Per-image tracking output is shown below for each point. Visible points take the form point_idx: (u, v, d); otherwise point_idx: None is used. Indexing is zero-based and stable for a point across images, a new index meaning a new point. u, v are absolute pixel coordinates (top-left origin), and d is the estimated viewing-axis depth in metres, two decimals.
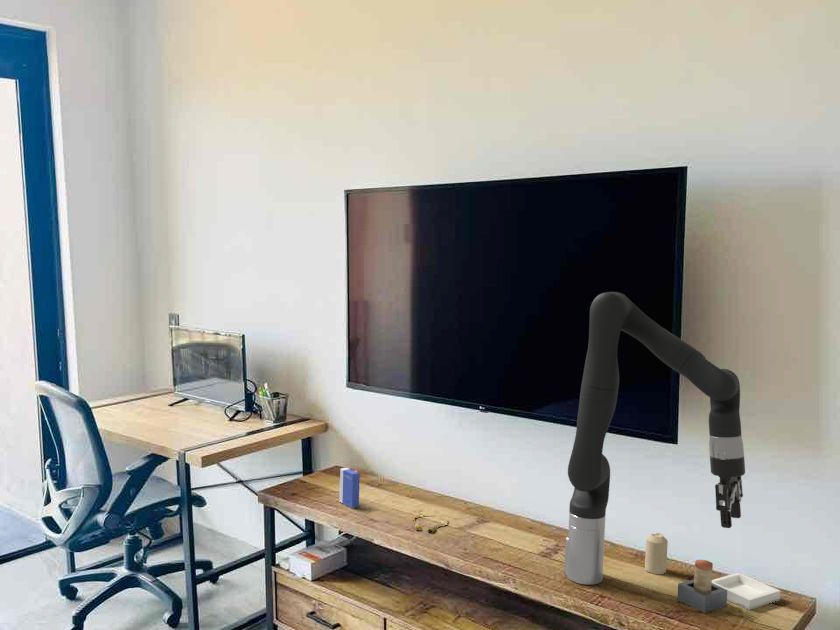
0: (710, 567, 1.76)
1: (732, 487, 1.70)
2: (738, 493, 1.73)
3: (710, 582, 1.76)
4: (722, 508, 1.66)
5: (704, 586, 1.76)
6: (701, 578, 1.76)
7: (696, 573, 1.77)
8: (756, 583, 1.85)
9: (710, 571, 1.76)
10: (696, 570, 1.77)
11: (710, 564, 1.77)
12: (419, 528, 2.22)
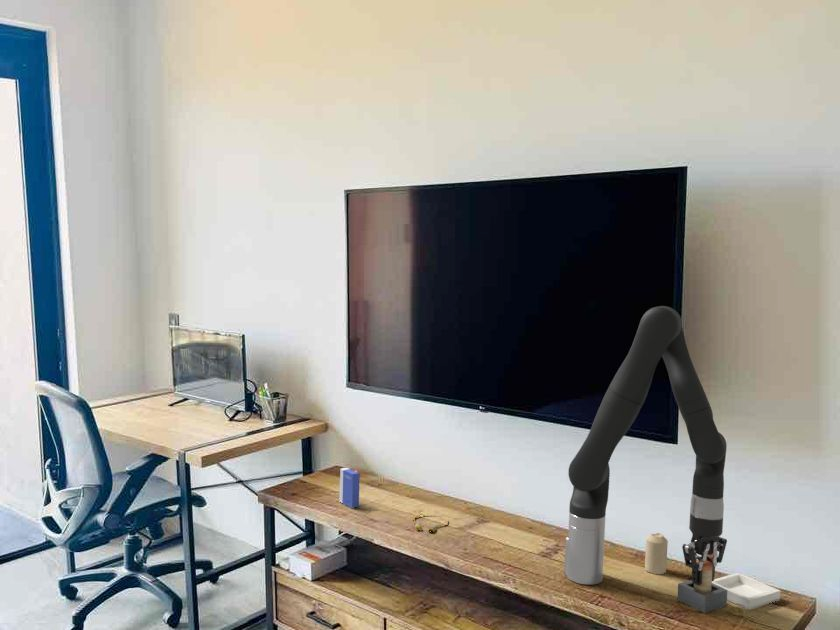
0: (710, 567, 1.76)
1: (704, 547, 1.75)
2: (713, 554, 1.77)
3: (710, 582, 1.76)
4: (690, 566, 1.75)
5: (704, 586, 1.76)
6: None
7: None
8: (756, 583, 1.85)
9: (710, 571, 1.76)
10: None
11: (710, 564, 1.77)
12: (419, 528, 2.21)
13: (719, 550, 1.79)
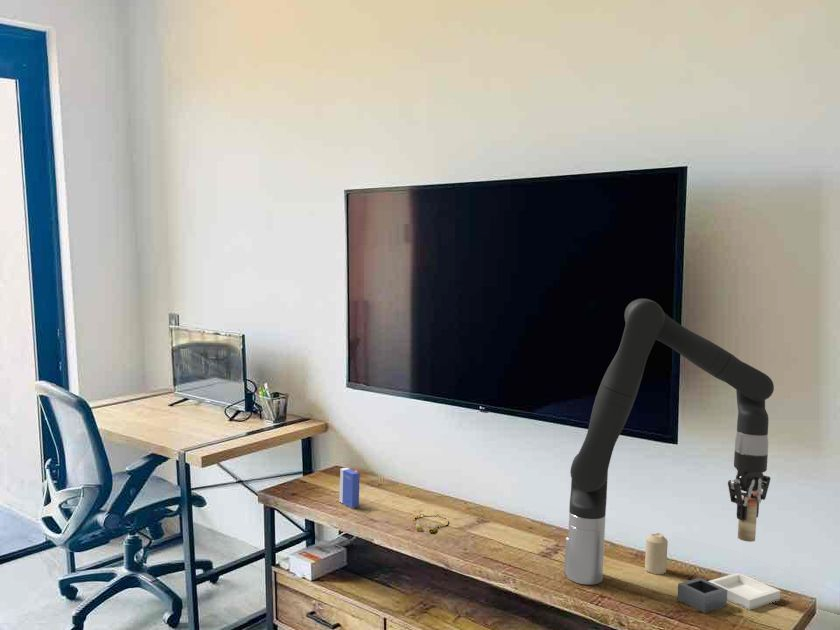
0: (755, 503, 1.80)
1: (749, 483, 1.79)
2: (757, 491, 1.81)
3: (755, 518, 1.80)
4: (735, 501, 1.79)
5: (749, 521, 1.80)
6: None
7: None
8: (756, 583, 1.85)
9: (755, 507, 1.80)
10: None
11: (755, 500, 1.81)
12: (420, 528, 2.21)
13: (763, 487, 1.83)
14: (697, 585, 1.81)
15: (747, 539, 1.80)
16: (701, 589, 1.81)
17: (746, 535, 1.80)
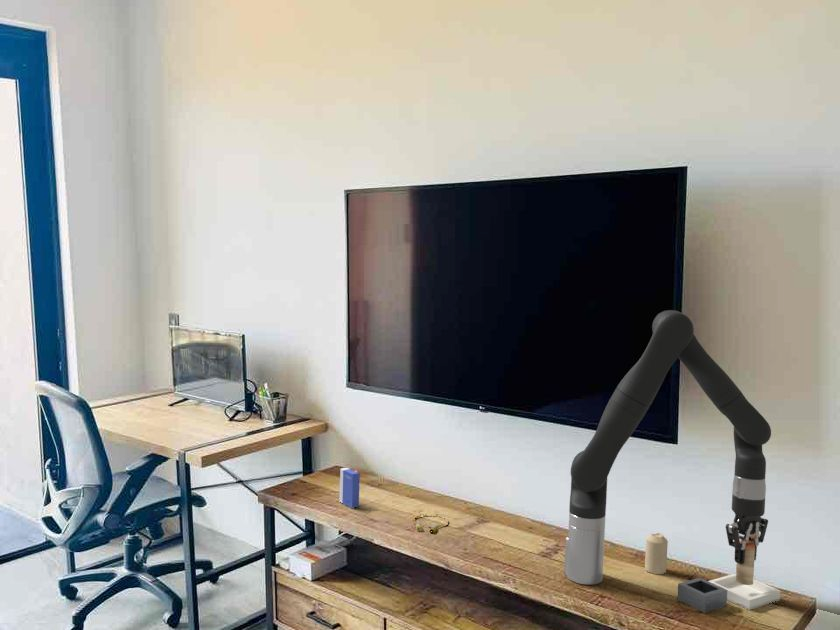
0: (753, 546, 1.80)
1: (746, 526, 1.80)
2: (755, 534, 1.81)
3: (753, 561, 1.81)
4: (733, 545, 1.79)
5: (747, 565, 1.80)
6: None
7: None
8: (756, 583, 1.85)
9: (753, 550, 1.80)
10: None
11: (753, 544, 1.81)
12: (420, 528, 2.21)
13: (760, 530, 1.84)
14: (697, 585, 1.81)
15: (745, 582, 1.81)
16: (701, 589, 1.81)
17: (744, 579, 1.81)
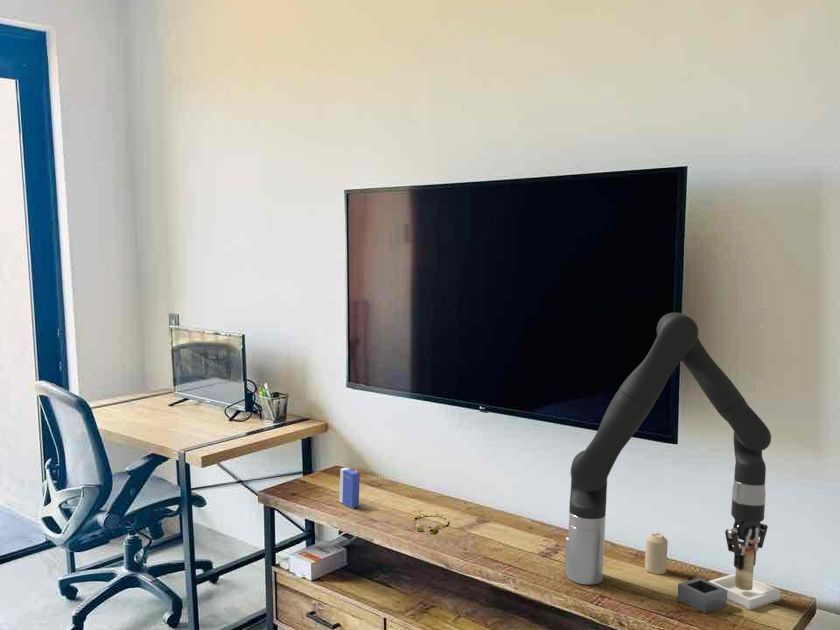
0: (752, 552, 1.80)
1: (746, 532, 1.80)
2: (754, 539, 1.82)
3: (752, 567, 1.81)
4: (733, 551, 1.80)
5: (746, 570, 1.80)
6: None
7: None
8: (756, 583, 1.85)
9: (752, 556, 1.81)
10: None
11: (752, 549, 1.81)
12: (421, 528, 2.21)
13: (760, 536, 1.84)
14: (697, 585, 1.81)
15: (744, 588, 1.81)
16: (701, 589, 1.81)
17: (743, 584, 1.81)
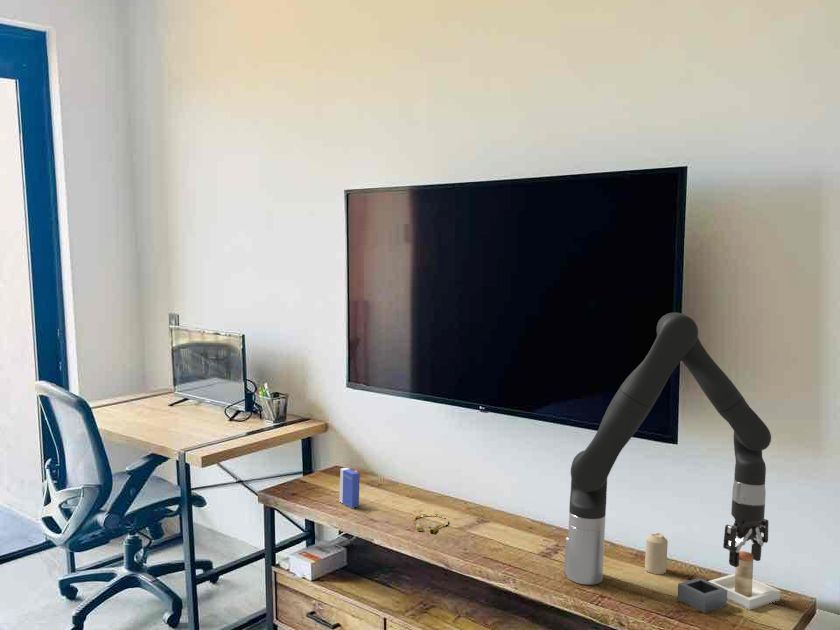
0: (751, 558, 1.80)
1: (746, 531, 1.80)
2: (757, 538, 1.82)
3: (751, 573, 1.81)
4: (728, 547, 1.78)
5: (745, 577, 1.81)
6: (742, 569, 1.81)
7: None
8: (756, 583, 1.85)
9: (751, 562, 1.81)
10: None
11: (751, 555, 1.81)
12: (421, 528, 2.21)
13: (763, 531, 1.84)
14: (697, 585, 1.81)
15: (744, 594, 1.81)
16: (701, 589, 1.81)
17: (742, 590, 1.81)
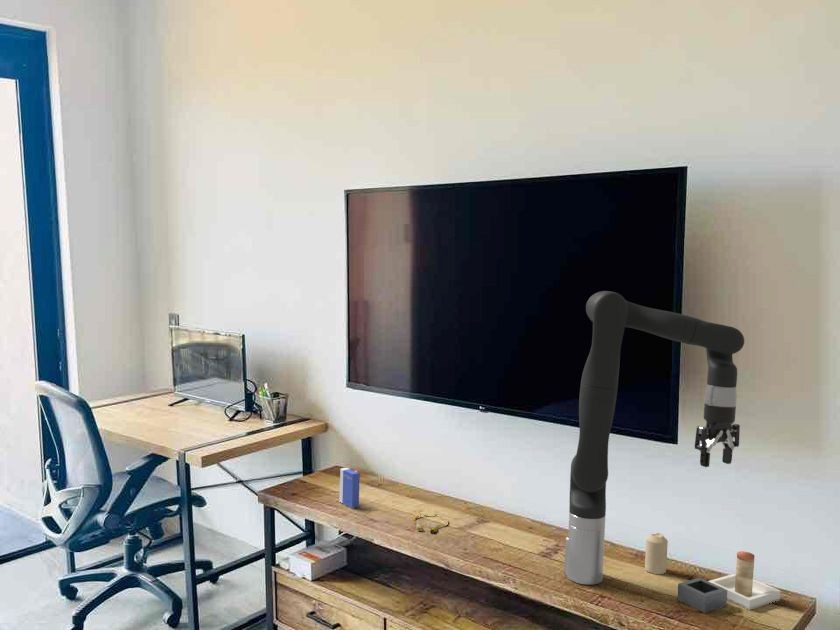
0: (752, 558, 1.80)
1: (717, 432, 1.86)
2: (728, 440, 1.88)
3: (752, 573, 1.81)
4: (699, 447, 1.85)
5: (746, 577, 1.80)
6: (743, 569, 1.81)
7: (738, 564, 1.82)
8: (756, 583, 1.85)
9: (752, 562, 1.81)
10: (738, 561, 1.82)
11: (752, 556, 1.81)
12: (421, 528, 2.21)
13: (734, 436, 1.90)
14: (697, 585, 1.81)
15: (744, 594, 1.81)
16: (701, 589, 1.81)
17: (742, 590, 1.81)
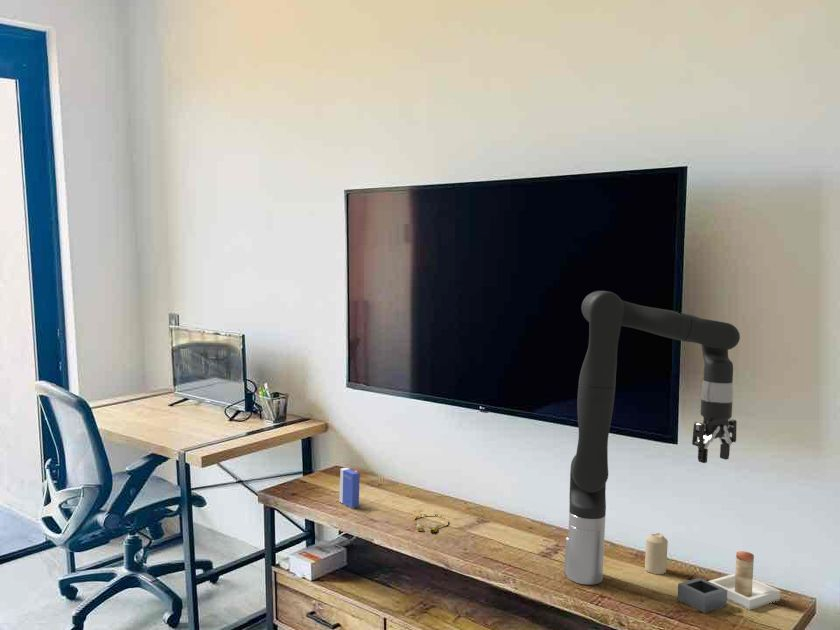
0: (751, 558, 1.80)
1: (714, 428, 1.87)
2: (725, 436, 1.89)
3: (751, 573, 1.81)
4: (696, 443, 1.85)
5: (745, 577, 1.81)
6: (742, 569, 1.81)
7: (737, 564, 1.82)
8: (756, 583, 1.85)
9: (751, 562, 1.81)
10: (737, 561, 1.82)
11: (751, 555, 1.81)
12: (421, 528, 2.21)
13: (731, 431, 1.91)
14: (697, 585, 1.81)
15: (744, 594, 1.81)
16: (701, 589, 1.81)
17: (742, 590, 1.81)
